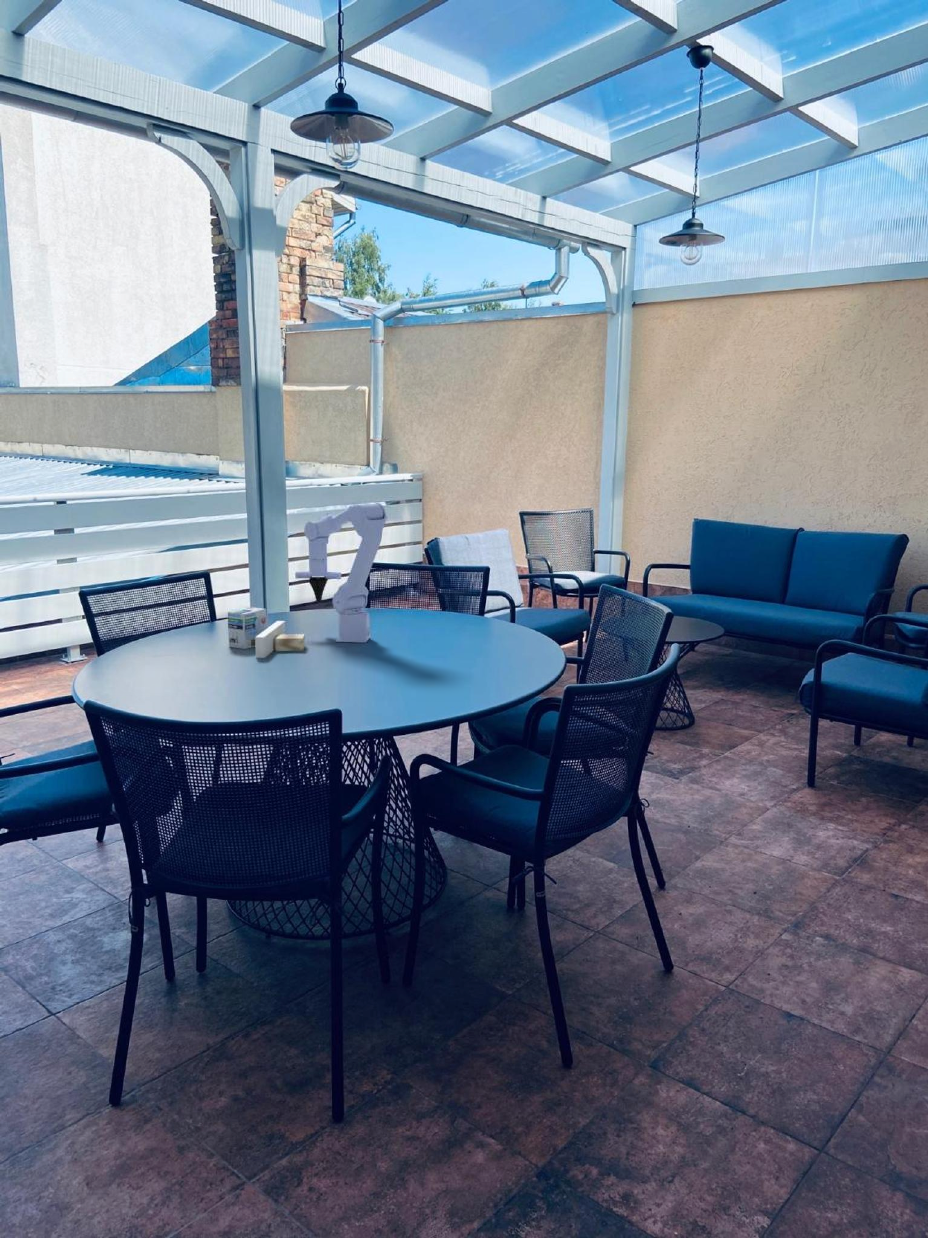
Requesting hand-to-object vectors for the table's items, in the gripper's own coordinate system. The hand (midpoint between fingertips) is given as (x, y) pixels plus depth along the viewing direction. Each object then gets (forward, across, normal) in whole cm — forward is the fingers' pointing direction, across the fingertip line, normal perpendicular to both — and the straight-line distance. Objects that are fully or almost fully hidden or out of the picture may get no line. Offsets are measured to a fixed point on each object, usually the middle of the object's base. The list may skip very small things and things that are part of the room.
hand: (318, 600), depth 288 cm
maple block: (+11, +4, +24) cm, 26 cm away
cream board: (+10, +9, +24) cm, 28 cm away
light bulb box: (+11, +18, +20) cm, 29 cm away
